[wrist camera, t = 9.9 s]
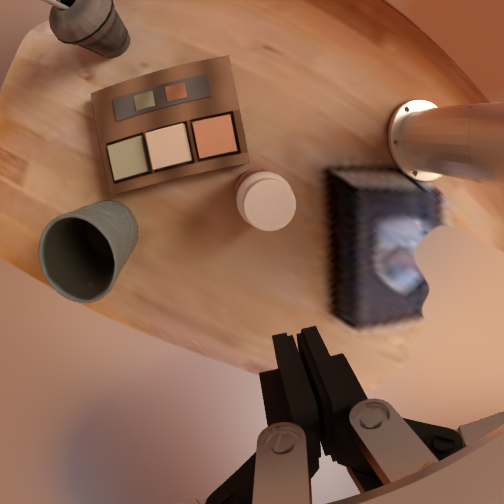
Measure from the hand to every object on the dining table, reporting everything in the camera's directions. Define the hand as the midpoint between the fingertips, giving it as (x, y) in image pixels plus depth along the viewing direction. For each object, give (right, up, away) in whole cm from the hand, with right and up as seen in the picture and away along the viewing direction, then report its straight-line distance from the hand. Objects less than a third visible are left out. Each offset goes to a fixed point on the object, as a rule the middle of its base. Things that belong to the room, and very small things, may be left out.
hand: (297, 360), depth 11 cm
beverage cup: (-20, +32, +20) cm, 43 cm away
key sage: (-17, +16, +25) cm, 34 cm away
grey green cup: (-21, +7, +29) cm, 37 cm away
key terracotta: (-6, +18, +25) cm, 32 cm away
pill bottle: (-1, +12, +29) cm, 31 cm away
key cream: (-12, +17, +24) cm, 31 cm away
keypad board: (-12, +20, +25) cm, 35 cm away
